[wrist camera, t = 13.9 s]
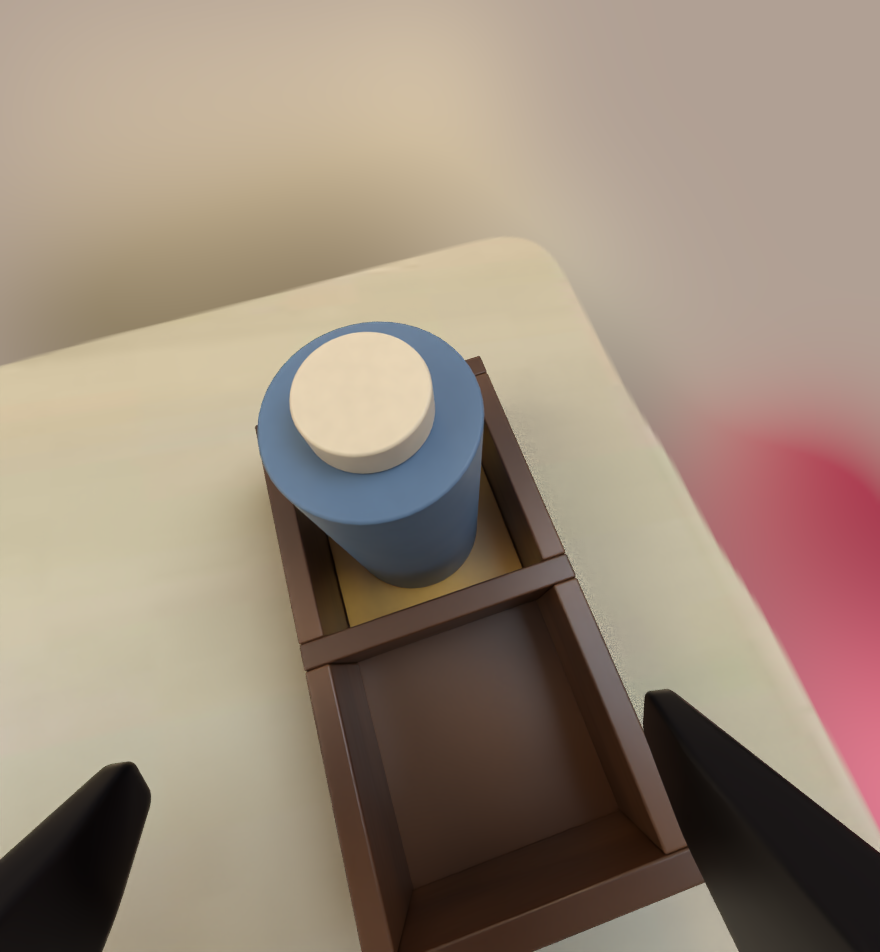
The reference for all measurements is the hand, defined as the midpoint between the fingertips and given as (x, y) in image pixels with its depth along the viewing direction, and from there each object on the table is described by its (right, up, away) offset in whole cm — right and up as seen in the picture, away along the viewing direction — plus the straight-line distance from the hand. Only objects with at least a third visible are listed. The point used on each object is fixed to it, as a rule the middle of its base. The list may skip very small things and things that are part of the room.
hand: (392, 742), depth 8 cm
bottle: (0, +3, +11) cm, 12 cm away
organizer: (+1, -1, +10) cm, 11 cm away
